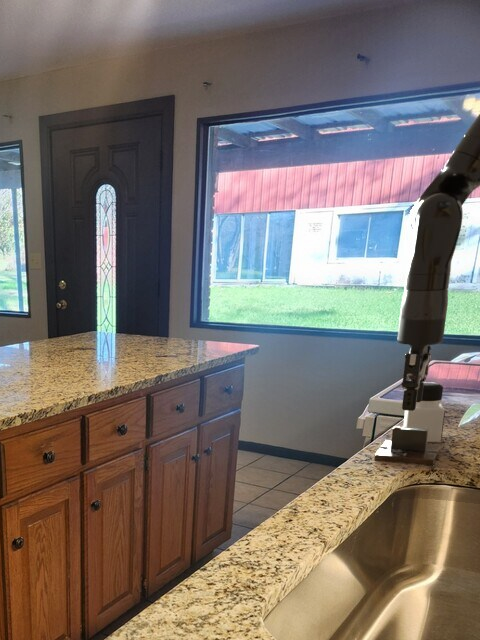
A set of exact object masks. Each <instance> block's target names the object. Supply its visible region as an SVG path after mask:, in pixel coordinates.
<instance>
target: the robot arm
mask: <svg viewBox="0 0 480 640" xmlns="http://www.w3.org/2000/svg"><path fill="white" fill-rule="evenodd" d="M479 187H480V113H479V114H478V116H477V117H476V118H475V120H474V121H473V123H472V124H471V125H470V126H469V128H468V129H467V131H466V132H465V133H464V135H463V137H461V139H460V141H459V143H458V144H457V146H456V147H455V149H453V152H452V153H451V154H450V156H449V158H448V160H447V161H446V163H445V164H444V166H443V168H442V169H441V170H440V172H439V173H438V174H437V175H436V176H435V177H434V179H433V180H432V181H431V182H430V183H429V185H427V187H426V189H425V190H424V191H423V192H422V194H421V195H420V196H419V198H418V199H417V201H416V202H415V204H414V206H413V207H412V209H411V210H410V214H409V218H408V225H409V228H410V229H409V230H411V232H412V234H414V236H415V241H414V249H413V253H412V256H411V257H410V259H409V261H408V263H407V267H406V274H405V280H404V281H405V282H404V290H403V291H404V292H403V295H402V300H401V305H400V313H399V322H398V323H399V324H398V332H397V342H398V344H401V345H409V346H410V347H409V351H408V352H406V353H405V356H404V360H403V361H404V365H403V371H402V382H401V388H403V396H402V404H401V405H402V407H401V409H402V410H403V411H405V410H408V411H413V410H415V408H416V402H421V400H422V395H423V387H424V382H426V380H427V376H428V374H429V370H430V362H431V358H432V353H431V350H432V347H431V346H434V345H440V344H442V343H443V341H444V335H445V328H446V320H447V313H448V305H449V285H450V278H451V272H452V271H451V269H452V261H453V257H454V253H455V251H456V248H457V244H458V241H459V238H460V233H461V229H462V224H463V216H464V215H463V205H464V204H465V202H466V201H467V200H468V198H469V197H470V196H471V194H472V193H473V192H474V191H475V190H477V189H478V188H479Z"/></svg>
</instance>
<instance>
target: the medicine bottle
mask: <svg viewBox="0 0 480 640" xmlns="http://www.w3.org/2000/svg"><path fill="white" fill-rule="evenodd" d="M443 393H444V386H443V385H442V384H441V383H438V382H432V381H431V382H430V381H425V382H424V387H423V395H422V400H421V402H416V408H415V410H413V411H408V410H404V416H403V426H402V427H407V428H422V429H428V437H427V443H441V442H442V440H443V432H444V423H445V417H446V409H445V408H444V406H443V405H442V400H443Z"/></svg>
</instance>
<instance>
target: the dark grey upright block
mask: <svg viewBox="0 0 480 640" xmlns="http://www.w3.org/2000/svg"><path fill="white" fill-rule="evenodd" d="M427 437H428V429H422V428H407V427H403V426H401V425H395V426H393V428H392V433H391V440H390V441H391V449H398V450H410V451H422V452H425V450H426V446H427V443H428V442H427Z"/></svg>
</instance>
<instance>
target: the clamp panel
mask: <svg viewBox="0 0 480 640" xmlns="http://www.w3.org/2000/svg"><path fill="white" fill-rule="evenodd" d="M391 441H392V440H388V439H387V440H386V439H385V441H384V442H383V444H382V445H380V446H379V449H377V451H376V453H375V454H374V459H373V461H376V462H385V463H386V462H387V463H397V464H398V463H399V464H407V465H418V466H429V467H432V466H434V464H435V462H436V460H437V457H438V455H439V453H440V451H441V444H439V443H429V442H427V446H426V450H425V452H422V451H410V450H398V449H391Z"/></svg>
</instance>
